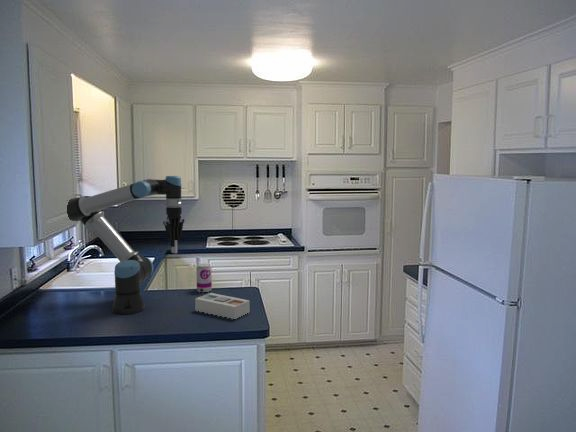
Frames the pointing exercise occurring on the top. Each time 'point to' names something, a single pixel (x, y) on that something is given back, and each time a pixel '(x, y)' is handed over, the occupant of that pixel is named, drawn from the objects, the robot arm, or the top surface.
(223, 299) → the grey key
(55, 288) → the top surface
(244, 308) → the keypad
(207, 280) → the supplement can
